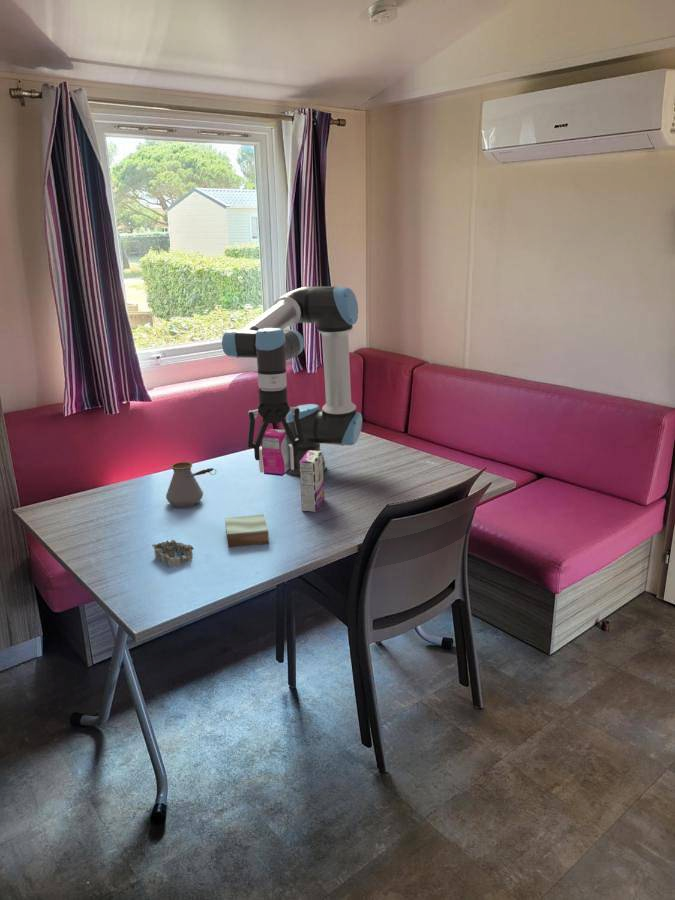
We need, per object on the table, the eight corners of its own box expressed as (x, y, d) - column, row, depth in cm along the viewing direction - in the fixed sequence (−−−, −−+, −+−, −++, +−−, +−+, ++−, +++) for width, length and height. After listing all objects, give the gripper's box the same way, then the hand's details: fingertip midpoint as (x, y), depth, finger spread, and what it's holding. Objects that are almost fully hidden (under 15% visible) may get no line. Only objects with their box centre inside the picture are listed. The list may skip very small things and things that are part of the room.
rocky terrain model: (196, 561, 174) (195, 547, 173) (170, 570, 170) (169, 556, 168) (176, 547, 182) (175, 534, 181) (151, 556, 177) (149, 542, 176)
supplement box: (271, 467, 186) (269, 428, 183) (291, 469, 184) (289, 430, 181) (262, 474, 181) (260, 433, 178) (282, 476, 179) (280, 435, 176)
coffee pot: (159, 504, 211) (154, 459, 206) (188, 493, 219) (184, 450, 215) (202, 521, 198) (198, 474, 193) (231, 509, 206) (228, 463, 201)
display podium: (226, 531, 191) (225, 518, 190) (264, 527, 193) (263, 514, 192) (228, 547, 181) (227, 534, 180) (268, 543, 183) (267, 530, 182)
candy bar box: (309, 498, 214) (307, 449, 209) (324, 499, 213) (323, 450, 208) (300, 511, 203) (298, 461, 198) (316, 513, 202) (314, 462, 197)
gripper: (234, 393, 170) (240, 477, 177) (313, 388, 174) (316, 470, 181) (232, 387, 177) (237, 468, 184) (308, 382, 181) (310, 461, 188)
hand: (276, 469), depth 183 cm, fingers closed on supplement box, 8 cm apart
